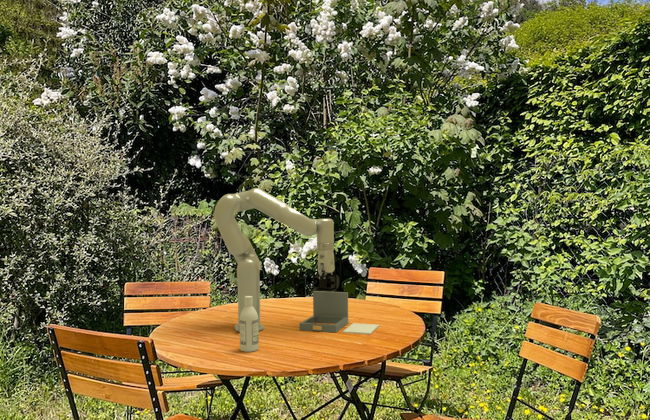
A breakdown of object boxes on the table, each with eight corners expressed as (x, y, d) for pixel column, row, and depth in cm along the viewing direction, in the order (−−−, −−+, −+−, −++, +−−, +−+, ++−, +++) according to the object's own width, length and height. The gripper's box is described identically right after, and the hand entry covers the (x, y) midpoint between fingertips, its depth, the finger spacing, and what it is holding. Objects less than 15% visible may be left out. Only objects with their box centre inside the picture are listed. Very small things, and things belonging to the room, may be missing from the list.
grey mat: (370, 334, 225) (370, 333, 225) (342, 332, 229) (342, 331, 229) (379, 326, 240) (379, 324, 240) (353, 324, 244) (353, 323, 244)
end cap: (339, 289, 240) (339, 274, 240) (332, 292, 234) (332, 276, 234) (319, 288, 245) (319, 273, 245) (312, 290, 238) (311, 275, 238)
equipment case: (335, 332, 228) (335, 299, 228) (299, 330, 234) (298, 298, 233) (348, 323, 247) (347, 292, 246) (314, 321, 252) (313, 291, 252)
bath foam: (258, 346, 208) (258, 294, 207) (258, 351, 201) (257, 297, 201) (240, 347, 207) (239, 295, 207) (239, 352, 200) (238, 298, 200)
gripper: (327, 248, 230) (327, 290, 230) (339, 245, 246) (339, 284, 246) (310, 248, 232) (311, 289, 232) (323, 245, 248) (324, 283, 249)
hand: (326, 286), depth 239 cm, fingers closed on end cap, 7 cm apart
